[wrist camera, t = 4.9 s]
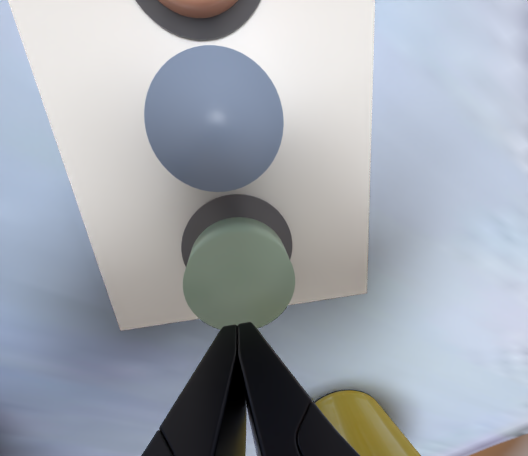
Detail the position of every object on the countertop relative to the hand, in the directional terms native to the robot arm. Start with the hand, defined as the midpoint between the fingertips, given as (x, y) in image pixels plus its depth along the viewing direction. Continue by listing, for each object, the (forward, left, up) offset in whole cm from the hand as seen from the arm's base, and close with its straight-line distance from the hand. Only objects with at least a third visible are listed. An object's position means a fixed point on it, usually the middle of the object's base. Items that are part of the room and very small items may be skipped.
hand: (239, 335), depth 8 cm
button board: (+6, 0, -9) cm, 11 cm away
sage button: (0, 0, -5) cm, 5 cm away
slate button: (+6, 0, -5) cm, 8 cm away
